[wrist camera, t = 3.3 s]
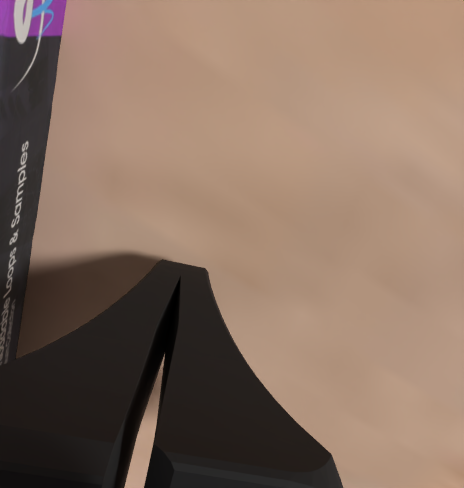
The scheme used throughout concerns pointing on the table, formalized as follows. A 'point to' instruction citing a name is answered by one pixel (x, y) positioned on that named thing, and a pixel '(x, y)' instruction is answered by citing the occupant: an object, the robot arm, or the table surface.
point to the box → (23, 143)
